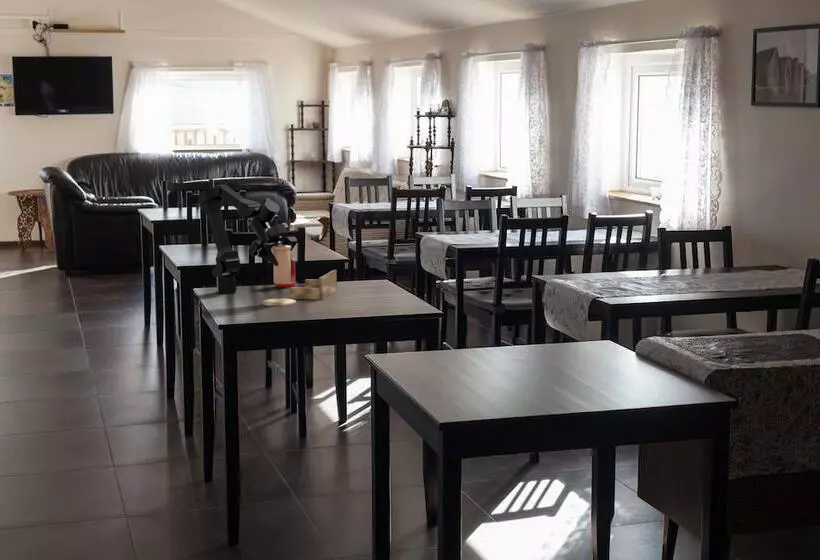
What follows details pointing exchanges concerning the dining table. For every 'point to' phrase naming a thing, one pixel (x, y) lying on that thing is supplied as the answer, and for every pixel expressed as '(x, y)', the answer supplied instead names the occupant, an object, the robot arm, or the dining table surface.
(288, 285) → the canned food
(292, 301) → the cream flat disc
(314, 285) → the cold frame
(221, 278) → the robot arm
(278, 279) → the terracotta pot
